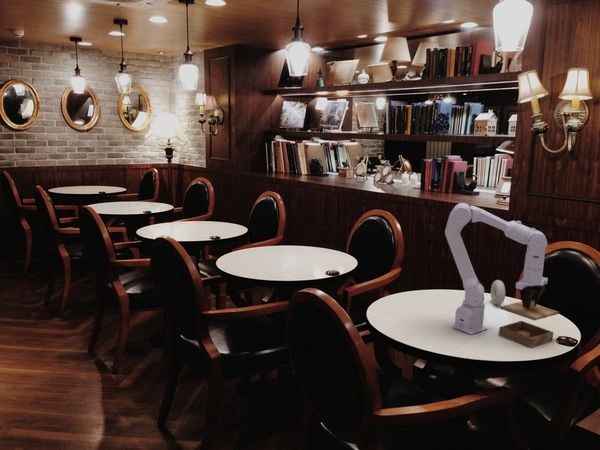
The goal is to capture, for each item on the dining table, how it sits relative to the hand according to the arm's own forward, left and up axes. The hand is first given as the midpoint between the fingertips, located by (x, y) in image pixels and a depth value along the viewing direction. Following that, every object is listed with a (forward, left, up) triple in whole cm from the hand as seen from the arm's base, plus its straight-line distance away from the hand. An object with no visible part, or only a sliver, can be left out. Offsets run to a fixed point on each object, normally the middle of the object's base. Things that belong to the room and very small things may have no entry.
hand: (529, 306), depth 179 cm
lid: (0, 0, -2) cm, 2 cm away
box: (-2, -1, -10) cm, 11 cm away
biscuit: (+1, +2, -11) cm, 11 cm away
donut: (+19, +26, -11) cm, 34 cm away
